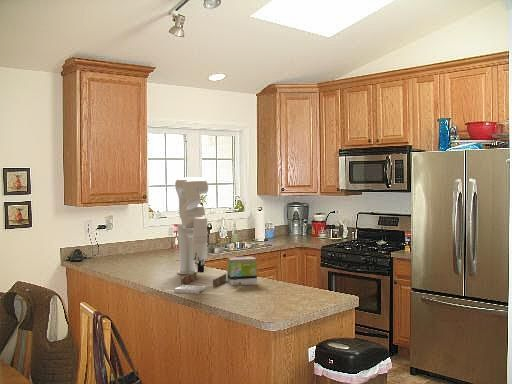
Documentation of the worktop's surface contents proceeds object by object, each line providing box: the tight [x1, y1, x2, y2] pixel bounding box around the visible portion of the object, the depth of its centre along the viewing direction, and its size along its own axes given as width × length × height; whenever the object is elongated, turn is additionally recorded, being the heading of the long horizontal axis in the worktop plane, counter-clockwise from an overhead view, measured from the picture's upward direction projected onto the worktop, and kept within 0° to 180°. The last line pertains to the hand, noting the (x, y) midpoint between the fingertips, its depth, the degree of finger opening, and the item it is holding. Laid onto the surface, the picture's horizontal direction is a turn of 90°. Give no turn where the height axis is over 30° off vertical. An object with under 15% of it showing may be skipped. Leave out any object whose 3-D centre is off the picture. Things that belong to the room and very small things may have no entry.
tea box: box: [226, 256, 258, 286], centre depth 305 cm, size 15×10×15 cm, turn 105°
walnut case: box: [180, 272, 227, 288], centre depth 305 cm, size 17×20×5 cm
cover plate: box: [174, 285, 208, 295], centre depth 289 cm, size 10×14×2 cm
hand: (200, 272), depth 302 cm, fingers closed
